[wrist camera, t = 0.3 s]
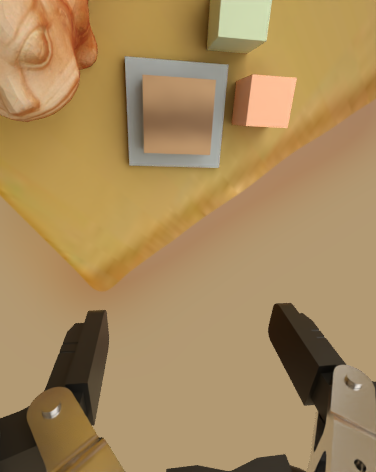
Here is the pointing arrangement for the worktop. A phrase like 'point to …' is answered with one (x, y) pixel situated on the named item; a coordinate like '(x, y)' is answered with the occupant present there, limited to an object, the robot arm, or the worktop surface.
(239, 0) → the sage block
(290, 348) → the robot arm
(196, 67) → the board
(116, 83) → the worktop surface
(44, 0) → the ceramic vessel
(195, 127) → the walnut base
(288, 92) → the terracotta block
